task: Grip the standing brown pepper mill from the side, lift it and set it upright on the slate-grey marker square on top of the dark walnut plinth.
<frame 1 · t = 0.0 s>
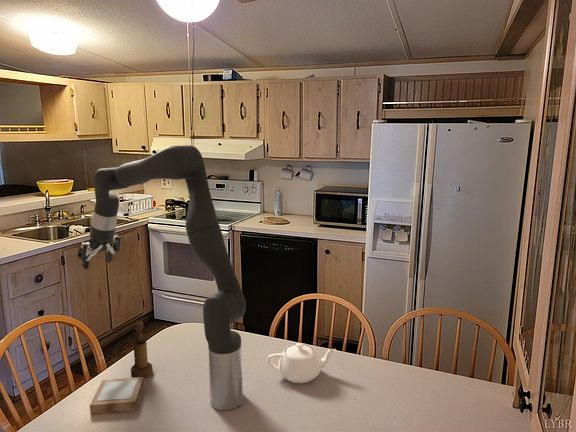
hand: (97, 265, 144), 31 cm above the table, tool tilted 20°, fingers open, 8 cm apart
plinth: (119, 399, 121), on the table
brown pepper mill: (142, 374, 134), on the table
teapot: (301, 375, 134), on the table
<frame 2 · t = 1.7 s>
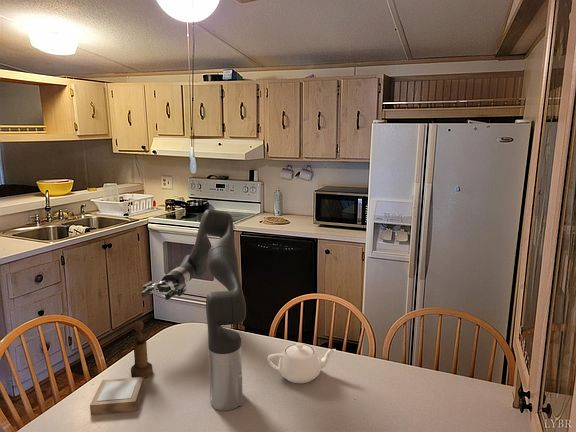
hand: (154, 296, 141), 22 cm above the table, tool horizontal, fingers open, 8 cm apart
nothing on the table moved.
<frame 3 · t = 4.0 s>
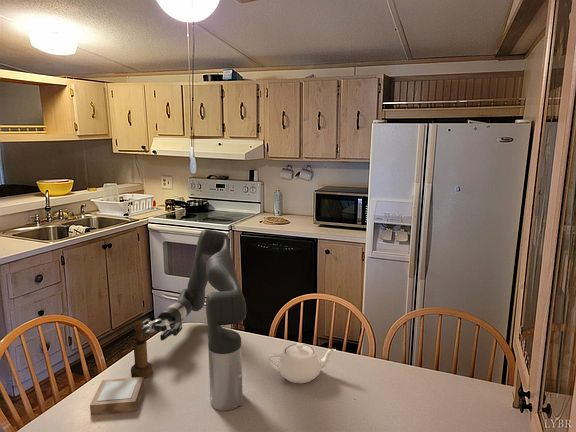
hand: (149, 336, 138), 10 cm above the table, tool horizontal, fingers open, 8 cm apart
nothing on the table moved.
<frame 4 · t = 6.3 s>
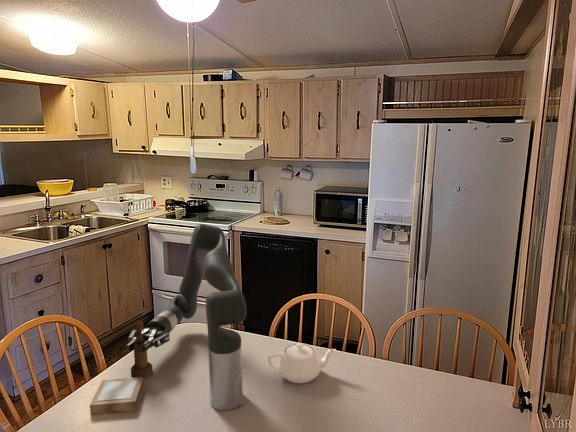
hand: (135, 349, 130), 10 cm above the table, tool horizontal, fingers closed on brown pepper mill, 4 cm apart
brown pepper mill: (142, 374, 134), on the table, touching gripper
everything else where it was.
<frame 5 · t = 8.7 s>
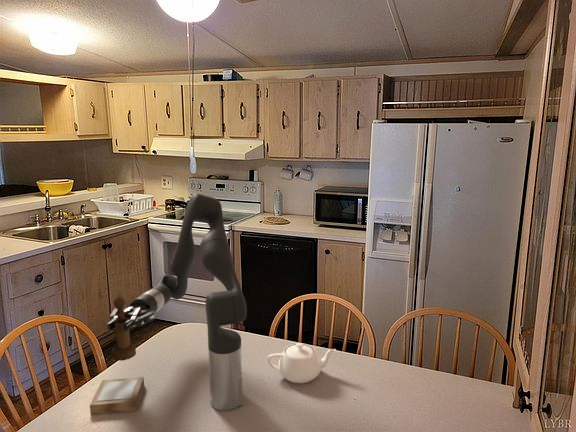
hand: (115, 328, 118), 22 cm above the table, tool horizontal, fingers closed on brown pepper mill, 4 cm apart
brown pepper mill: (124, 355, 123), point 11 cm above the table, touching gripper
everything else where it was.
when the fingers open (14 cm above the table, at t = 11.2 s): brown pepper mill stays where it is, resting on plinth.
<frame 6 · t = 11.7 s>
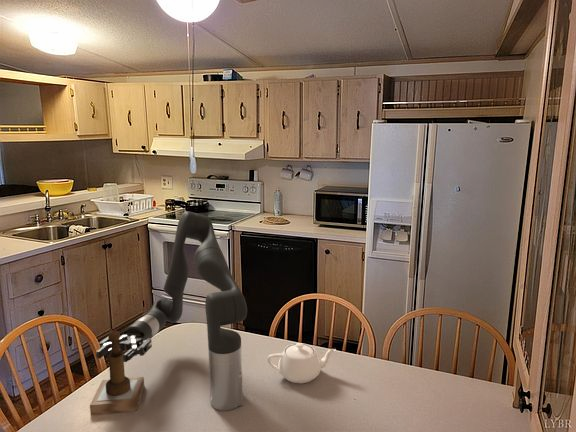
hand: (110, 357, 116), 14 cm above the table, tool horizontal, fingers open, 8 cm apart
brown pepper mill: (118, 390, 121), point 3 cm above the table, touching plinth
everything else where it was.
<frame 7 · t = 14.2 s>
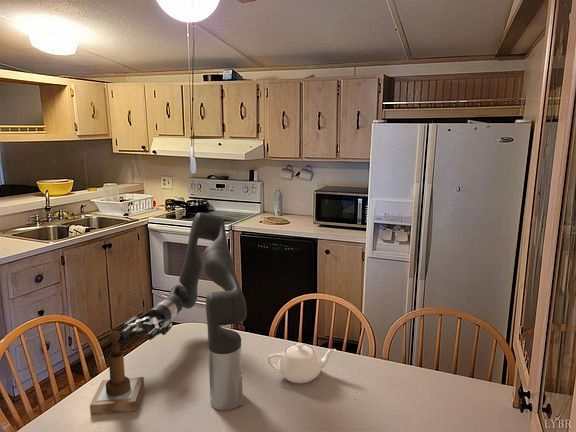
hand: (136, 335, 129), 15 cm above the table, tool horizontal, fingers open, 8 cm apart
nothing on the table moved.
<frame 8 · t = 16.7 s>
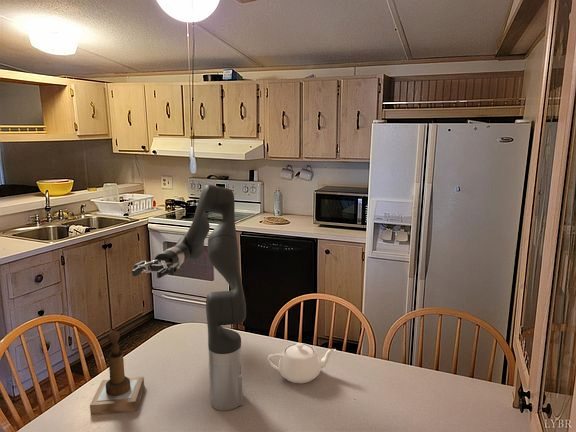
hand: (145, 274, 133), 32 cm above the table, tool horizontal, fingers open, 8 cm apart
nothing on the table moved.
at the end: brown pepper mill inside the target area on the plinth (0.1 cm from its centre), point 3.0 cm above the plinth's base; brown pepper mill tilted 0°; the gripper is holding nothing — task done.
